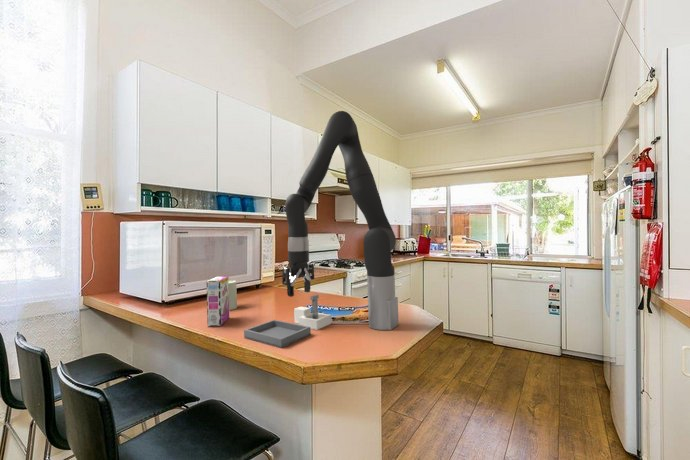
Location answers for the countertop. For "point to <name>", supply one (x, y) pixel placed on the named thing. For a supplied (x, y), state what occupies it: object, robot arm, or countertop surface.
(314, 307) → the post
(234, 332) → the countertop surface
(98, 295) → the countertop surface
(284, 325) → the tray
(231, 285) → the can
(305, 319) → the collar
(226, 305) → the candy bar box
